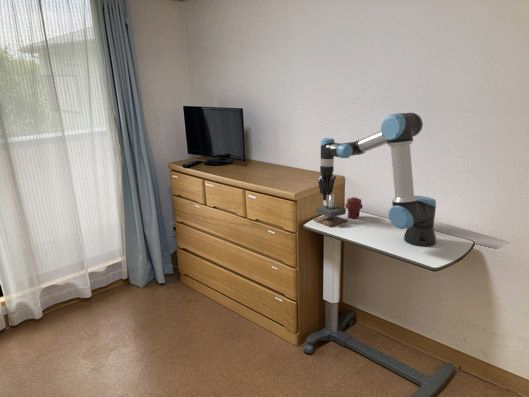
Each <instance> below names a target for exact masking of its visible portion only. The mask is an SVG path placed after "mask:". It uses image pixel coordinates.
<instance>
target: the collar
mask: <svg viewBox="0 0 529 397" xmlns="http://www.w3.org/2000/svg"><path fill="white" fill-rule="evenodd" d="M346 211H347V208H346V207H345V208H344V207H341V206H338V205H336V204H334V209H333V210H329V209H328V206H325V205H321V206H316V209H315V213H316V214H319V215H322V216H327V217H330V218H331V217H335V216H338V217H340V216H342V215H345V214H346Z"/></svg>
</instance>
